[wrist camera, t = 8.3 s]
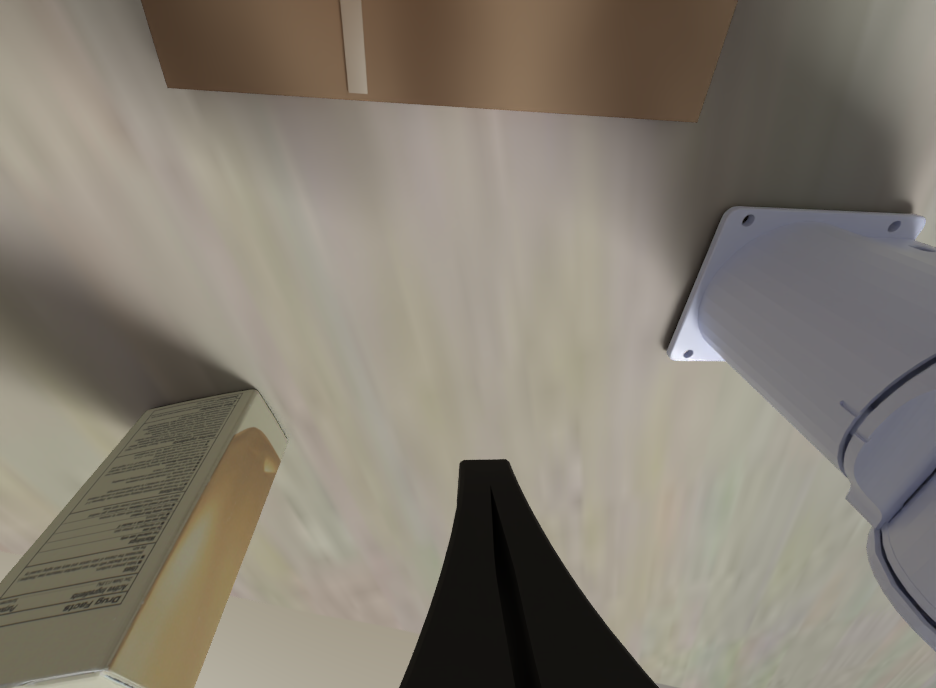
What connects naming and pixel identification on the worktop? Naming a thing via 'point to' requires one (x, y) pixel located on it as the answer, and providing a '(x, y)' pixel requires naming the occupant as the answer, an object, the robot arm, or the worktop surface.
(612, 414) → the worktop surface
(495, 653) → the robot arm
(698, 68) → the pipe rig
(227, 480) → the skincare box
